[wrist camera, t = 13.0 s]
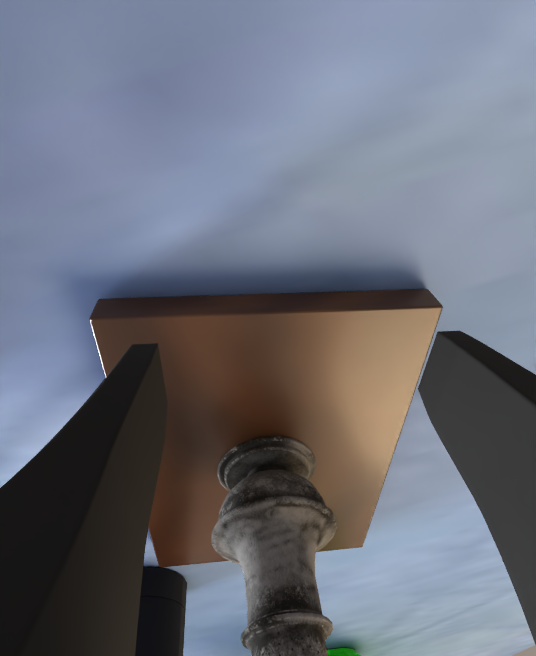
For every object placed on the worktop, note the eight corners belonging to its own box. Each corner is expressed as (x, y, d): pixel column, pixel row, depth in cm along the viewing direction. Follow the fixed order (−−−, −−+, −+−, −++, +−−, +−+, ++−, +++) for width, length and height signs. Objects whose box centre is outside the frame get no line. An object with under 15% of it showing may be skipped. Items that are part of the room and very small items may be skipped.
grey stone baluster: (288, 415, 19) (366, 806, 9) (338, 473, 22) (435, 808, 12) (189, 463, 20) (164, 851, 10) (249, 511, 23) (274, 842, 14)
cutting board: (161, 545, 27) (158, 568, 26) (97, 298, 16) (88, 318, 15) (356, 526, 29) (362, 547, 28) (428, 288, 17) (444, 306, 16)
